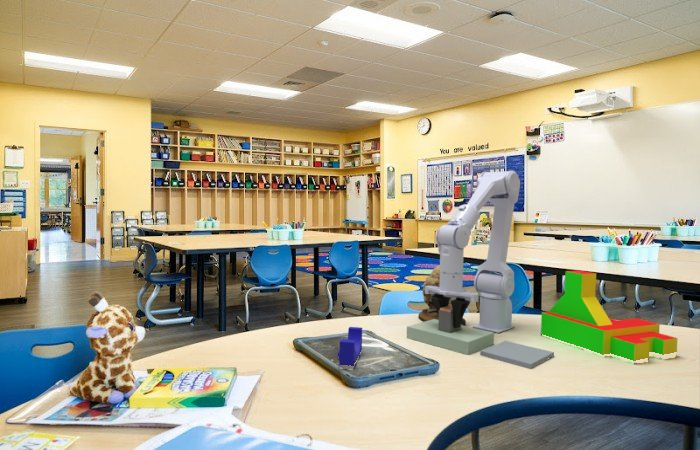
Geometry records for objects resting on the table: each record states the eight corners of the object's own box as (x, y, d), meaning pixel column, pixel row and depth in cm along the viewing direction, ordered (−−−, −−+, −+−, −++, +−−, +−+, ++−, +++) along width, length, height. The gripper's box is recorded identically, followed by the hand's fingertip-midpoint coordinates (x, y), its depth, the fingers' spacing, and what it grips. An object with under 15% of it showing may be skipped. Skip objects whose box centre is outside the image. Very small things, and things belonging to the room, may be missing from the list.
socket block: (433, 329, 130) (434, 318, 130) (493, 344, 117) (494, 332, 117) (406, 337, 121) (406, 326, 121) (467, 354, 109) (468, 342, 108)
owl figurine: (478, 326, 134) (480, 267, 133) (446, 331, 129) (447, 270, 128) (439, 312, 150) (440, 259, 149) (408, 316, 145) (409, 261, 144)
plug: (449, 337, 122) (450, 305, 122) (460, 340, 120) (461, 307, 119) (437, 341, 119) (438, 307, 118) (449, 344, 116) (450, 310, 116)
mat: (505, 344, 117) (505, 340, 117) (553, 356, 108) (554, 352, 108) (480, 355, 109) (480, 350, 108) (530, 368, 100) (531, 364, 100)
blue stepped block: (342, 351, 110) (343, 326, 110) (361, 353, 109) (362, 327, 109) (332, 369, 98) (332, 341, 98) (353, 371, 97) (353, 342, 97)
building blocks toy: (626, 367, 103) (630, 284, 102) (540, 336, 126) (543, 268, 125) (683, 358, 110) (687, 280, 109) (592, 330, 133) (595, 266, 132)
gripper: (418, 270, 121) (417, 322, 121) (468, 277, 110) (466, 334, 111) (434, 268, 126) (433, 318, 126) (483, 274, 115) (481, 329, 116)
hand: (449, 325), depth 119 cm, fingers closed on plug, 3 cm apart
